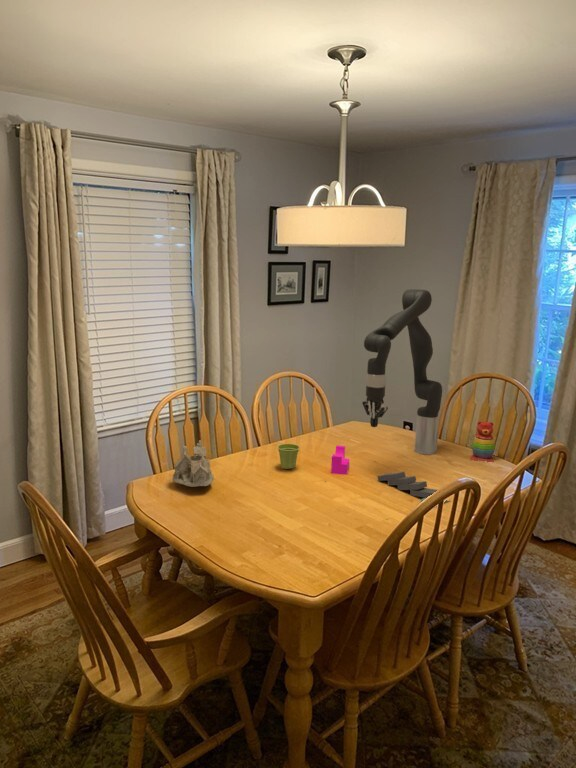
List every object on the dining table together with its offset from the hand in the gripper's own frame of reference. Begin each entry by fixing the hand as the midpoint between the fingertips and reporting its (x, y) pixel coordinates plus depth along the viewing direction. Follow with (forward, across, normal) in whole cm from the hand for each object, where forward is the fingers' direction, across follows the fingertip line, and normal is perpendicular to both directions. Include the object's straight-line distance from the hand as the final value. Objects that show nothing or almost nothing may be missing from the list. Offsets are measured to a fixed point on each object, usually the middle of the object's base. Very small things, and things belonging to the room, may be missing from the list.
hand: (373, 426), depth 226 cm
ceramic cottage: (+19, +28, +67) cm, 75 cm away
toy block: (+20, +11, +7) cm, 24 cm away
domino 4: (+19, -25, +1) cm, 31 cm away
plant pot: (+20, +24, +26) cm, 40 cm away
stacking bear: (+21, -14, -53) cm, 59 cm away
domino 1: (+19, -8, +2) cm, 20 cm away
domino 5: (+20, -34, -5) cm, 39 cm away
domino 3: (+19, -18, +2) cm, 26 cm away
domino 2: (+19, -13, +2) cm, 23 cm away
